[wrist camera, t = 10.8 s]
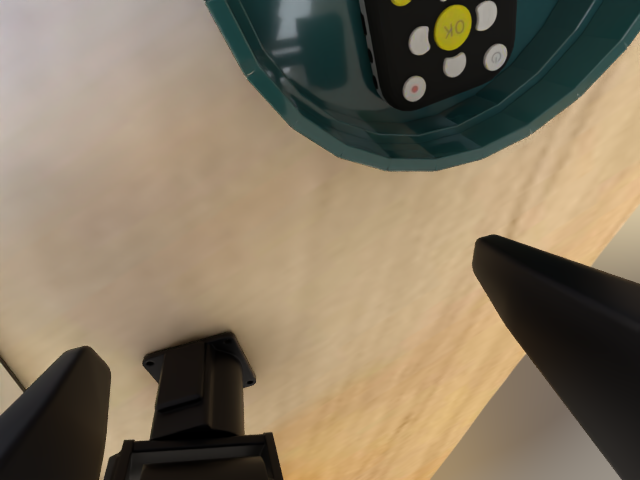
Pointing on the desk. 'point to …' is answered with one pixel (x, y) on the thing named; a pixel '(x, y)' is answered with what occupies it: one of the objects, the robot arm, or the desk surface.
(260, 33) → the bowl
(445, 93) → the remote control
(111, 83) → the desk surface
